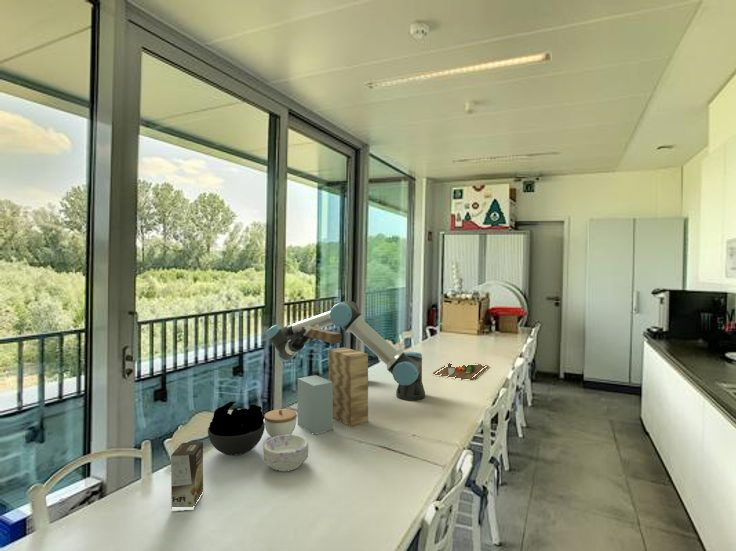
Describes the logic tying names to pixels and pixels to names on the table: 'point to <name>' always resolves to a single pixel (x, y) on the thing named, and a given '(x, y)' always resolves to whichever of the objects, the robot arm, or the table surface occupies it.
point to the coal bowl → (236, 429)
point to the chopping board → (462, 371)
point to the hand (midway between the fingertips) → (313, 327)
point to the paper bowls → (285, 452)
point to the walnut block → (324, 335)
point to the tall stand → (349, 385)
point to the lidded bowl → (280, 422)
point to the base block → (315, 404)
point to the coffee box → (187, 474)
